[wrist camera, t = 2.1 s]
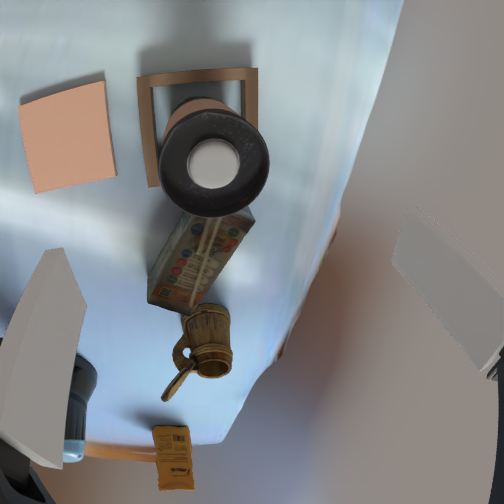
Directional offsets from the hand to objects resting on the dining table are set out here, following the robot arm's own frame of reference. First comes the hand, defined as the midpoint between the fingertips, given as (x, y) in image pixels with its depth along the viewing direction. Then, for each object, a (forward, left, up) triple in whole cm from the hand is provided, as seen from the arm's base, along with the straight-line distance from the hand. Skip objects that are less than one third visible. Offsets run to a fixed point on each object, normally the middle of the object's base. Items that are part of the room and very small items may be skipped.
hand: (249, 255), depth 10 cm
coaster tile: (-18, +1, -30) cm, 35 cm away
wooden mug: (-4, -34, -30) cm, 46 cm away
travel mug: (0, 0, -30) cm, 30 cm away
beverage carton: (-2, -18, -31) cm, 35 cm away
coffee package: (-20, -86, -30) cm, 93 cm away
